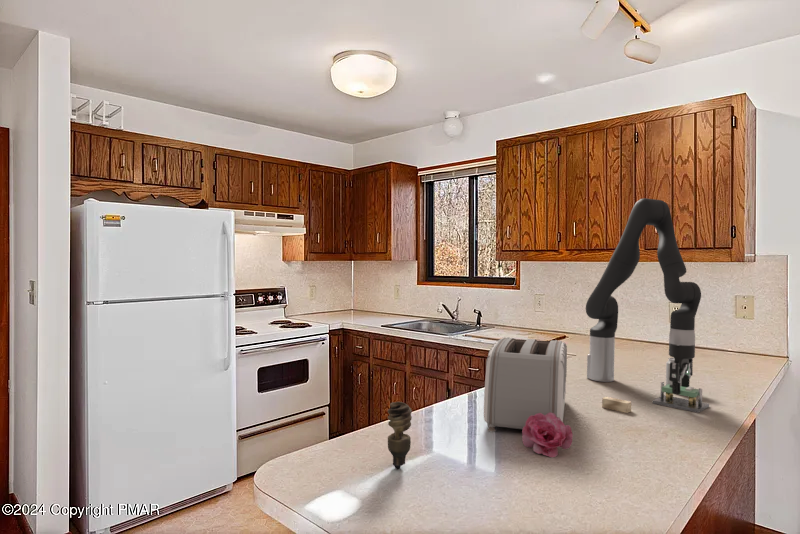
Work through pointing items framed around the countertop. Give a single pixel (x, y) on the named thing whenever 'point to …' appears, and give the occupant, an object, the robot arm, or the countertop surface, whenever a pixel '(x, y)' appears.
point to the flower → (546, 434)
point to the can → (669, 371)
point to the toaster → (524, 381)
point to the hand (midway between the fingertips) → (680, 391)
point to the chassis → (681, 401)
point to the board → (682, 390)
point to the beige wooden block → (616, 404)
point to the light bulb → (399, 432)
